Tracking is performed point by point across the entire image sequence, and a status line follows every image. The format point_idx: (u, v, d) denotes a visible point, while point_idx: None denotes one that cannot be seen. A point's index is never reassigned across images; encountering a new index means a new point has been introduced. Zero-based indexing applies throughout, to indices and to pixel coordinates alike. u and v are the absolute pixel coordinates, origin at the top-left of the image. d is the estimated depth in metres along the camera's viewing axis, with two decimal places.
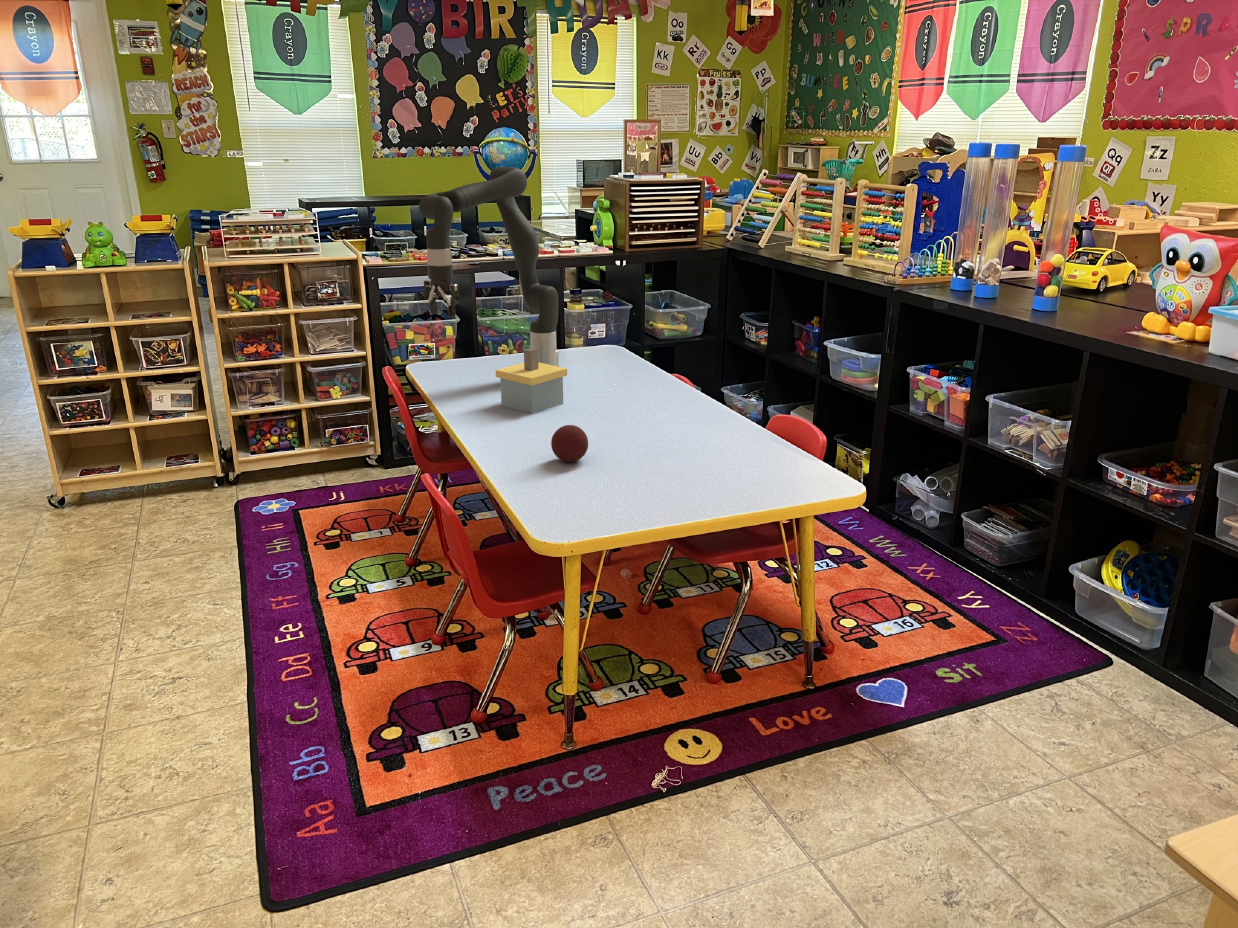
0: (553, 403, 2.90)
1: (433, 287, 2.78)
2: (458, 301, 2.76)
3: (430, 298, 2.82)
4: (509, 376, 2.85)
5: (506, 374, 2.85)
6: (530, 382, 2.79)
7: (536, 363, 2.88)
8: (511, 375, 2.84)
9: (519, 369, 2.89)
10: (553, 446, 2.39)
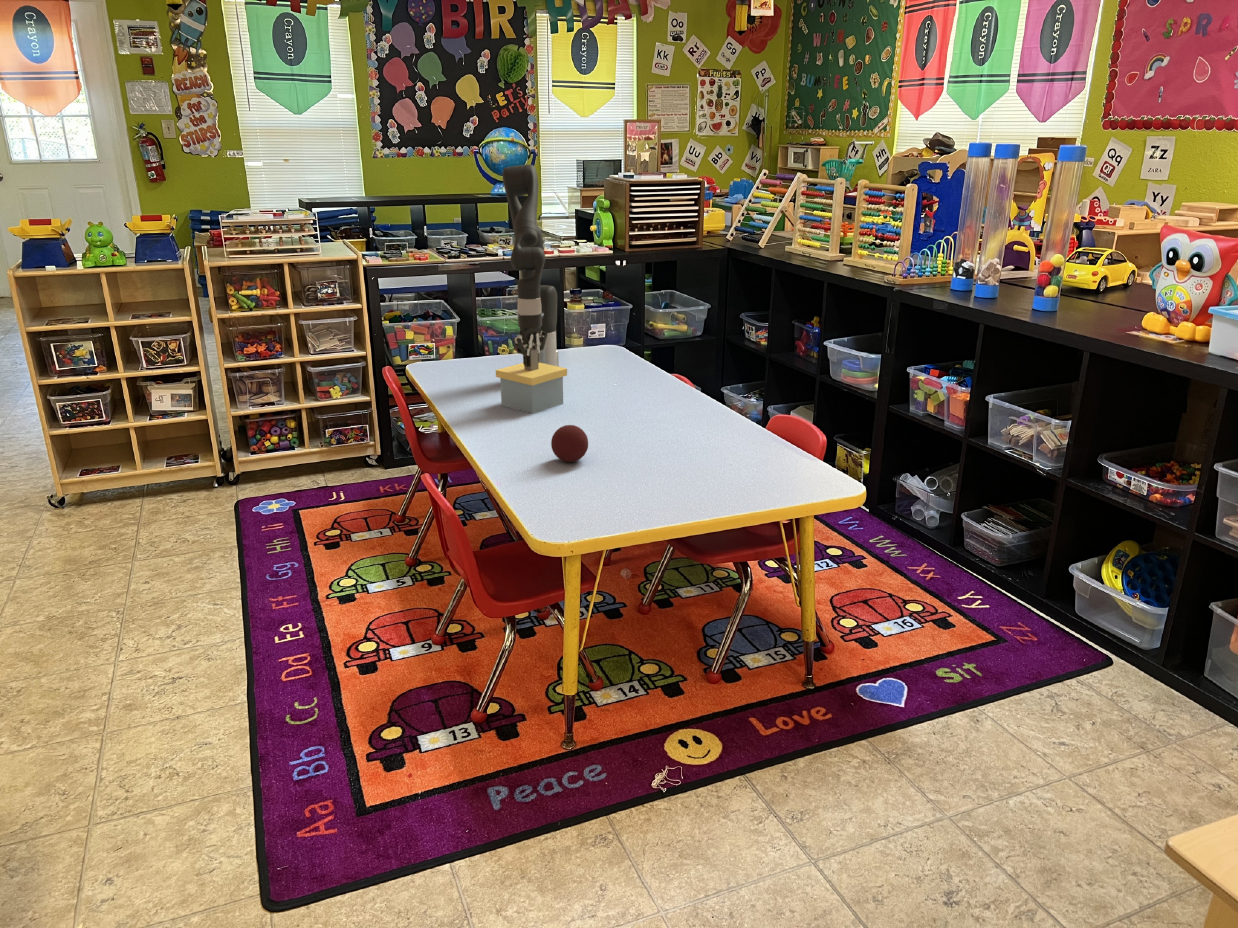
0: (553, 403, 2.90)
1: (531, 336, 2.83)
2: None
3: (528, 351, 2.84)
4: (509, 376, 2.85)
5: (506, 374, 2.85)
6: (530, 382, 2.79)
7: (536, 363, 2.88)
8: (511, 375, 2.84)
9: (519, 369, 2.89)
10: (553, 446, 2.39)
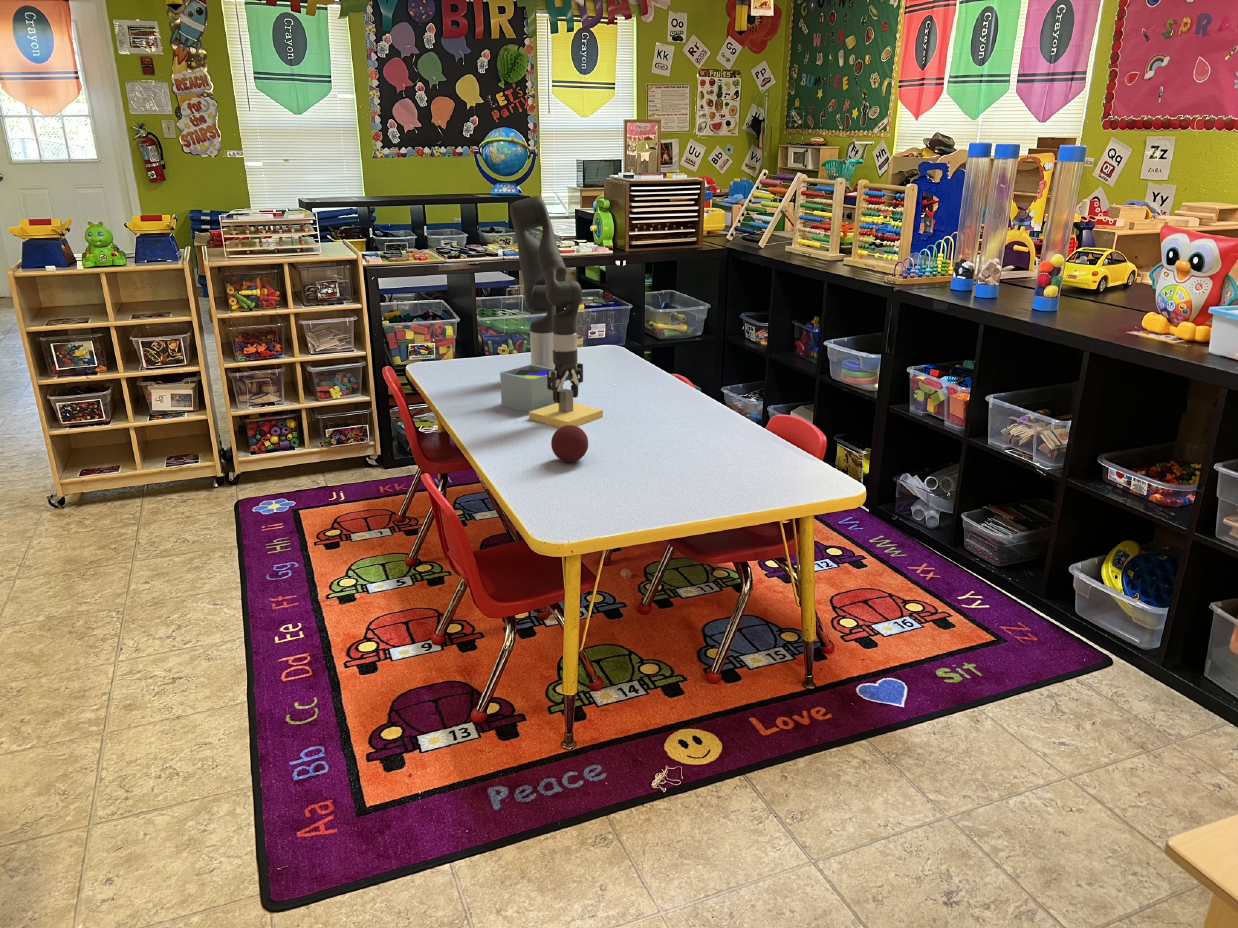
0: (553, 403, 2.90)
1: (567, 373, 2.72)
2: None
3: (559, 387, 2.72)
4: (543, 419, 2.74)
5: (540, 416, 2.75)
6: None
7: (571, 405, 2.77)
8: (545, 418, 2.74)
9: (553, 411, 2.78)
10: (553, 446, 2.39)
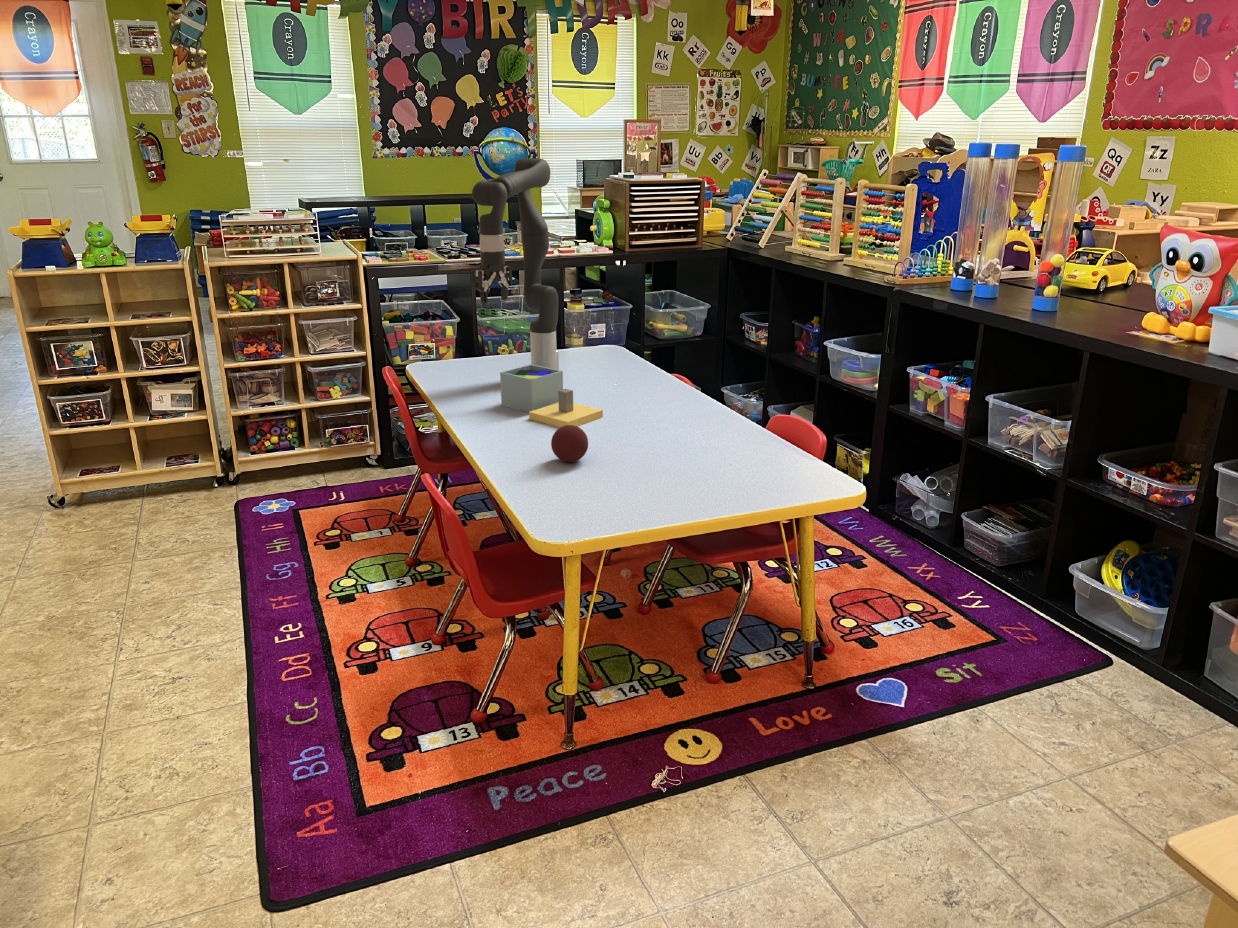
0: (553, 403, 2.90)
1: (494, 274, 2.79)
2: None
3: (486, 287, 2.79)
4: (543, 419, 2.74)
5: (540, 416, 2.75)
6: None
7: (571, 405, 2.77)
8: (545, 418, 2.74)
9: (553, 411, 2.78)
10: (553, 446, 2.39)
